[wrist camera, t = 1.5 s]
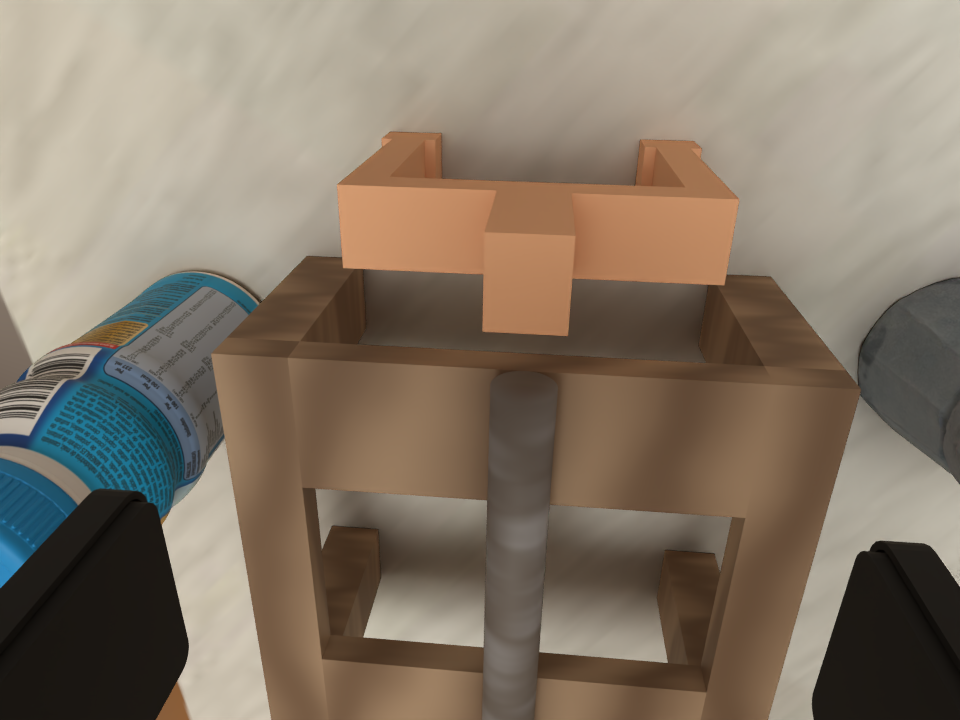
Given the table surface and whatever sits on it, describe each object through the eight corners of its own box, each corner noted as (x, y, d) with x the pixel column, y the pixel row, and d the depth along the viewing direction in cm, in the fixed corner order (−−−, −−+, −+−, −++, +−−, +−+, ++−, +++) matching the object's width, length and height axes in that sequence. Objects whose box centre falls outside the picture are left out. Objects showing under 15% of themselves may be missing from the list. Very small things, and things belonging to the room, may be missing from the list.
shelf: (770, 276, 37) (889, 424, 24) (704, 602, 46) (762, 832, 33) (306, 256, 38) (182, 382, 25) (336, 573, 48) (257, 781, 35)
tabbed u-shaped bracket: (694, 141, 34) (801, 244, 19) (685, 204, 35) (779, 347, 21) (390, 131, 35) (272, 223, 20) (392, 193, 36) (283, 321, 22)
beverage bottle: (306, 310, 40) (103, 559, 22) (255, 423, 43) (47, 717, 25) (161, 237, 39) (-176, 437, 21) (122, 360, 42) (-194, 621, 24)
